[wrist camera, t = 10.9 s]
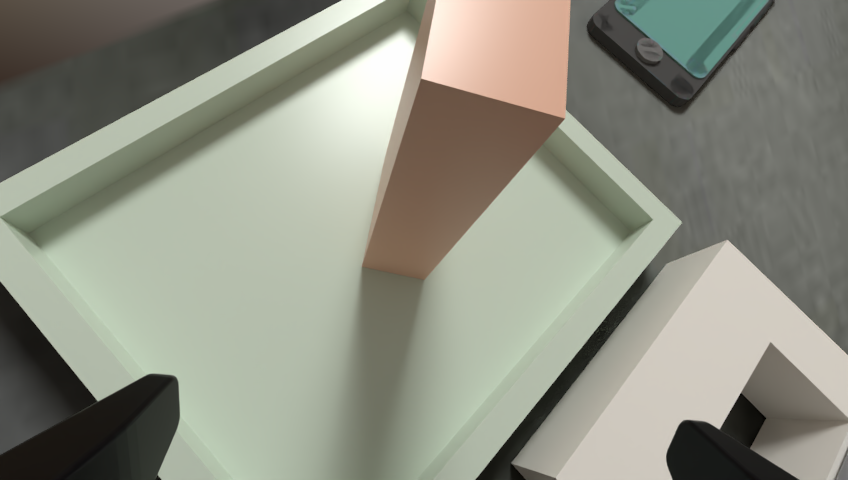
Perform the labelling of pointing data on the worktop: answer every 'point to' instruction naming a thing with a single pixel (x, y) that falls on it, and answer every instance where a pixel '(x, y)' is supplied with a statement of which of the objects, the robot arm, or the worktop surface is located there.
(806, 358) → the white slotted base
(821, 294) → the worktop surface
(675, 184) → the worktop surface
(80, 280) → the tray
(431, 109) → the salmon pink rectangular block
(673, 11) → the smartphone
